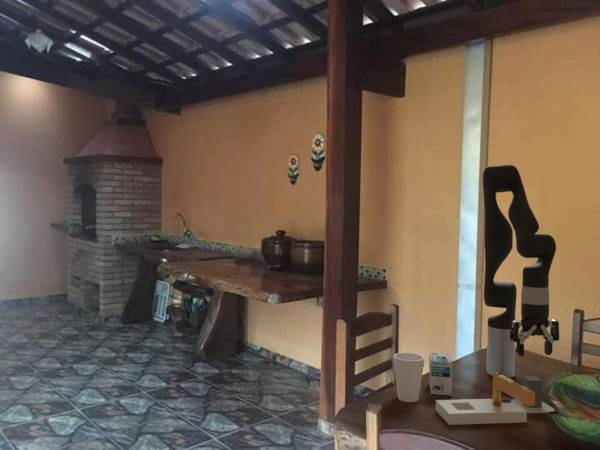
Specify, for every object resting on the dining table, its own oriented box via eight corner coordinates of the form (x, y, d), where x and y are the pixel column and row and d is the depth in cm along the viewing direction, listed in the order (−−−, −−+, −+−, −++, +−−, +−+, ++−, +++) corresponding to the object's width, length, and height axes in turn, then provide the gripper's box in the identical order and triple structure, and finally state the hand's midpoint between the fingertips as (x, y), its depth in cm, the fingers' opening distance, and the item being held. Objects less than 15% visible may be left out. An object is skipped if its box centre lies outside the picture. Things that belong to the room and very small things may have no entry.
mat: (507, 400, 152) (507, 399, 152) (537, 399, 153) (537, 398, 153) (524, 413, 142) (524, 412, 142) (557, 412, 143) (557, 411, 143)
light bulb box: (452, 396, 156) (452, 362, 156) (430, 394, 157) (430, 360, 157) (449, 385, 166) (449, 353, 166) (428, 383, 168) (428, 351, 167)
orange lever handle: (526, 426, 126) (527, 392, 125) (490, 403, 141) (491, 372, 141) (535, 426, 126) (535, 391, 126) (498, 402, 142) (498, 372, 142)
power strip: (435, 410, 144) (435, 397, 144) (507, 408, 146) (508, 395, 146) (449, 424, 134) (449, 410, 134) (526, 422, 136) (526, 408, 136)
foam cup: (405, 406, 147) (406, 362, 147) (386, 396, 155) (387, 354, 155) (430, 400, 152) (430, 358, 151) (410, 391, 160) (410, 351, 160)
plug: (521, 402, 150) (522, 376, 150) (534, 402, 150) (534, 376, 150) (528, 407, 146) (529, 380, 146) (541, 407, 146) (542, 380, 146)
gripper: (549, 298, 152) (548, 350, 152) (505, 299, 150) (505, 352, 151) (565, 303, 144) (564, 358, 145) (519, 304, 143) (518, 360, 143)
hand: (534, 355), depth 148 cm, fingers open, 8 cm apart
